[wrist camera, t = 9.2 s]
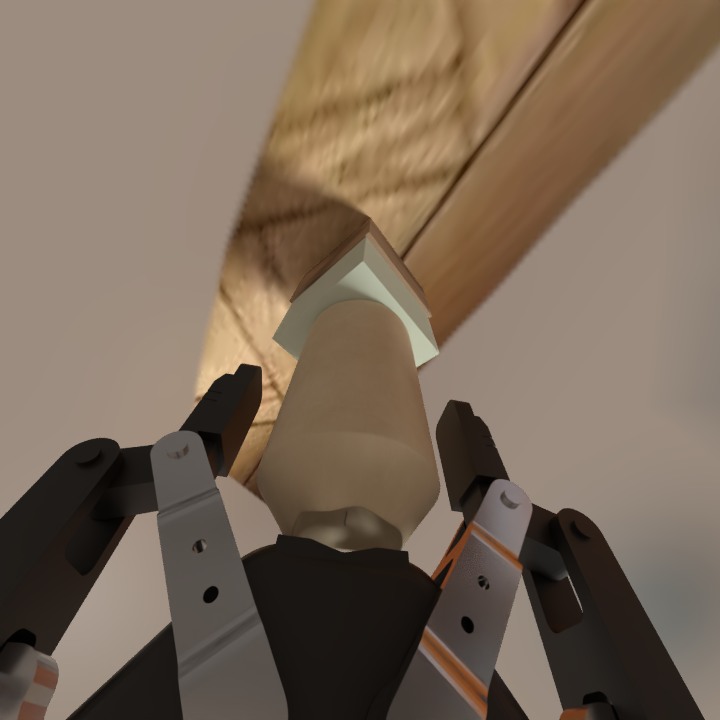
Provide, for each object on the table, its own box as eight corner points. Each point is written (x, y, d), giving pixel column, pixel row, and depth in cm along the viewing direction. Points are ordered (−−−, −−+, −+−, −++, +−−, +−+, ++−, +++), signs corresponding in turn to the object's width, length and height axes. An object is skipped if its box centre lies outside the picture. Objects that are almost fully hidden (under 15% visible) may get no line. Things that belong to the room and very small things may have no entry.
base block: (370, 217, 21) (369, 231, 17) (422, 289, 24) (432, 316, 20) (304, 276, 24) (289, 300, 20) (358, 334, 27) (355, 366, 23)
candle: (322, 389, 18) (278, 587, 10) (295, 306, 15) (196, 492, 6) (413, 378, 17) (452, 583, 9) (405, 288, 14) (451, 474, 6)
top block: (366, 236, 17) (363, 260, 13) (426, 313, 20) (439, 353, 16) (293, 301, 20) (272, 338, 16) (355, 361, 23) (350, 406, 19)
